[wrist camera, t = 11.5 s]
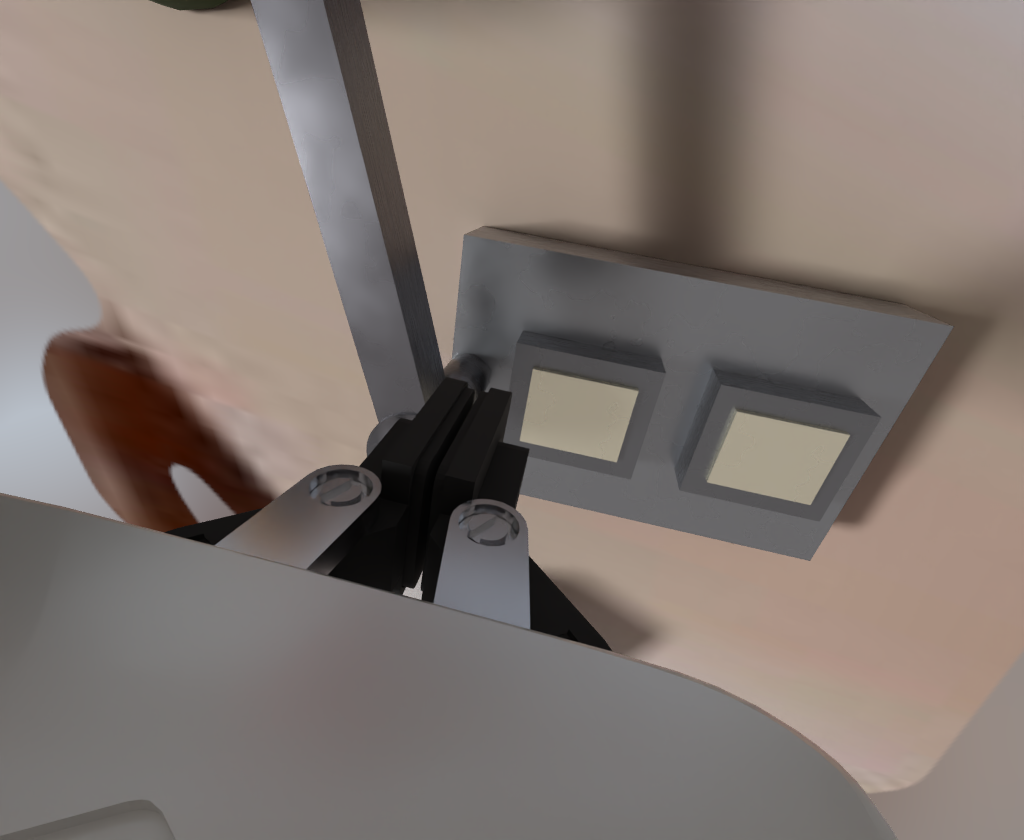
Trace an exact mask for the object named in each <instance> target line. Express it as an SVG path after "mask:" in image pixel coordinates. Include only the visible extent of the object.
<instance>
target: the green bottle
mask: <svg viewBox="0 0 1024 840" xmlns="http://www.w3.org/2000/svg"><path fill="white" fill-rule="evenodd" d="M150 1H153V2H155V3H158V4H161V5H164V6H167V7H170V8H174V9H177V10H193V9H207V8H214V7H216V6H218V5H220V4H222V3H224V2H226V1H228V0H150Z"/></svg>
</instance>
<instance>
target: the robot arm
mask: <svg viewBox="0 0 1024 840" xmlns="http://www.w3.org/2000/svg"><path fill="white" fill-rule="evenodd" d="M474 397H475V389H471V388H468V382H466V381H462V380H457V379H453V378H449V377H446V378H445V379H444V380H443V381H442V383H441V384H440V385H439V386H438V388H437V389H436V390H435V392H434V393H433V394H432V396H431V397H430V398H429V399H428V401H427V402H426V403H425V405H424V406H423V407H422V409H421V410H420V411H419V412H418V414H417V415H416V416H415V418H414V419H413V420H408V419H404V418H400V419H399V420H398V421H397V422H396V423H395V424H394V425H393V426H392V428H391V429H390V430H389V431H388V433H387V434H386V435H385V436H384V437H383V439H382V440H381V441H380V442H379V443H378V445H377V446H376V447H375V448H374V449H373V451H372V452H371V453H370V454H369V455H368V457H367V458H366V459H365V460H364V461H363V463H362V464H361V465H360V466H359V467H358V466H354V465H332V466H327V467H324V468H320V469H317V470H316V471H314V472H312V473H310V474H309V475H307V476H306V477H304V478H303V479H302V480H300V481H299V482H298V483H297V484H295V485H294V486H293V487H291V488H290V489H289V490H287V491H286V492H285V493H283V494H282V495H281V496H279V497H278V498H277V499H275V500H274V501H273V502H271V503H270V504H269V505H267V506H266V507H265V508H262V509H257V510H253V511H249V512H245V513H240V514H236V515H232V516H228V517H223V518H220V519H215V520H211V521H206V522H202V523H198V524H194V525H189V526H185V527H181V528H177V529H174V530H171V531H167V532H164V533H163V532H159V531H155V530H151V529H148V528H144V527H140V526H136V525H132V524H128V523H124V522H120V521H116V520H113V519H109V518H105V517H101V516H97V515H93V514H89V513H85V512H82V511H77V510H74V509H70V508H66V507H62V506H57V505H52V504H48V503H43V502H39V501H35V500H30V499H25V498H21V497H17V496H12V495H8V494H3V493H0V840H898V839H897V837H896V835H895V834H894V832H893V831H892V829H891V827H890V826H889V824H888V823H887V821H886V820H885V818H884V817H883V815H882V814H881V812H880V811H879V809H878V808H877V807H876V805H875V804H874V802H873V801H872V800H871V799H870V798H869V796H868V795H867V794H866V792H865V791H864V790H863V789H862V787H861V786H860V785H859V784H858V782H857V781H856V780H855V779H854V778H853V777H852V776H851V775H850V774H849V773H848V772H847V771H846V770H845V769H844V768H843V767H842V766H841V765H840V764H839V763H838V762H837V761H836V760H835V759H833V758H832V757H831V756H830V755H828V754H827V753H826V752H825V751H824V750H822V749H821V748H820V747H819V746H817V745H816V744H815V743H813V742H812V741H811V740H809V739H808V738H806V737H805V736H804V735H802V734H801V733H800V732H798V731H797V730H795V729H794V728H792V727H790V726H789V725H787V724H785V723H784V722H782V721H781V720H779V719H777V718H776V717H774V716H772V715H771V714H769V713H768V712H766V711H764V710H763V709H761V708H759V707H758V706H756V705H754V704H752V703H750V702H748V701H746V700H744V699H742V698H740V697H737V696H735V695H733V694H731V693H729V692H727V691H725V690H723V689H721V688H719V687H717V686H714V685H712V684H709V683H706V682H704V681H701V680H699V679H696V678H693V677H691V676H688V675H685V674H683V673H680V672H677V671H674V670H671V669H667V668H664V667H661V666H657V665H654V664H651V663H648V662H644V661H641V660H638V659H634V658H631V657H628V656H625V655H621V654H618V653H615V652H613V651H612V650H611V649H610V647H609V646H608V644H607V643H606V641H605V640H604V639H603V638H602V637H601V636H600V634H599V633H598V632H597V631H596V630H595V629H594V628H593V627H592V626H591V624H590V623H589V622H588V621H587V620H586V619H585V618H584V617H583V616H582V614H581V613H580V612H579V611H578V610H577V609H576V608H575V607H574V605H573V604H572V603H571V602H570V601H569V600H568V599H567V598H566V597H565V595H564V594H563V593H562V592H561V591H560V590H559V589H558V588H557V587H556V585H555V584H554V583H553V582H552V581H551V580H550V579H549V578H548V576H547V575H546V574H545V573H544V572H543V571H542V570H541V569H540V568H539V566H538V565H537V564H536V563H535V562H534V561H533V560H532V559H531V558H530V556H529V551H528V528H527V524H526V521H525V519H524V518H523V516H522V515H521V514H520V513H519V512H518V511H517V510H516V505H517V501H518V497H519V493H520V489H521V485H522V481H523V476H524V472H525V468H526V463H527V459H528V455H529V450H530V449H529V448H525V447H520V446H516V445H512V444H508V443H504V442H503V439H504V434H505V429H506V424H507V419H508V414H509V409H510V404H511V399H512V392H509V391H504V390H500V389H496V388H492V387H491V388H490V389H489V391H488V392H483V391H481V392H480V393H479V395H478V397H477V399H476V401H475V403H474ZM422 571H423V574H422V582H421V591H423V593H422V600H419V599H416V598H412V597H408V596H404V595H402V594H403V592H404V590H405V588H406V587H409V588H415V586H416V584H417V582H418V580H419V577H420V575H421V573H422Z"/></svg>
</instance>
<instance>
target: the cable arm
mask: <svg viewBox="0 0 1024 840" xmlns="http://www.w3.org/2000/svg"><path fill="white" fill-rule="evenodd" d="M251 3H252V7H253V10H254V13H255V16H256V20H257V23H258V26H259V30H260V33H261V36H262V40H263V43H264V46H265V49H266V53H267V56H268V59H269V63H270V66H271V69H272V72H273V76H274V79H275V82H276V86H277V89H278V92H279V95H280V99H281V102H282V105H283V109H284V112H285V115H286V119H287V122H288V125H289V128H290V132H291V135H292V138H293V142H294V145H295V148H296V151H297V155H298V158H299V161H300V165H301V168H302V171H303V175H304V178H305V181H306V184H307V188H308V191H309V194H310V198H311V201H312V204H313V207H314V211H315V214H316V217H317V221H318V224H319V227H320V231H321V234H322V237H323V240H324V244H325V247H326V250H327V254H328V257H329V260H330V263H331V267H332V270H333V273H334V277H335V280H336V283H337V286H338V290H339V293H340V296H341V300H342V303H343V306H344V310H345V313H346V316H347V319H348V323H349V326H350V329H351V333H352V336H353V339H354V342H355V346H356V349H357V352H358V356H359V359H360V362H361V366H362V369H363V372H364V375H365V379H366V382H367V385H368V389H369V392H370V395H371V398H372V402H373V405H374V408H375V412H376V415H377V418H378V421H379V424H378V425H377V426H376V427H375V428H374V429H373V431H372V432H371V434H370V436H369V438H368V441H367V457H368V455H369V454H370V453H371V452H372V451H373V449H374V448H375V447H376V446H377V445H378V443H379V442H380V441H381V440H382V439H383V437H384V436H385V435H386V434H387V433H388V431H389V430H390V429H391V428H392V426H393V425H394V424H395V423H396V422H397V421H398V420H399V419H400V418H404V419H408V420H413V419H414V418H415V416H416V415H417V414H418V412H419V411H420V410H421V409H422V407H423V406H424V405H425V403H426V402H427V401H428V399H429V398H430V397H431V396H432V394H433V393H434V392H435V390H436V389H437V388H438V386H439V385H440V384H441V383H442V381H443V380H444V379H445V374H444V370H443V366H442V361H441V357H440V352H439V348H438V343H437V339H436V335H435V330H434V326H433V321H432V317H431V313H430V308H429V304H428V299H427V295H426V290H425V286H424V282H423V277H422V273H421V268H420V264H419V259H418V255H417V251H416V246H415V242H414V237H413V233H412V229H411V224H410V220H409V215H408V211H407V206H406V202H405V198H404V193H403V189H402V184H401V180H400V175H399V171H398V167H397V162H396V158H395V153H394V149H393V145H392V140H391V136H390V131H389V127H388V122H387V118H386V114H385V109H384V105H383V100H382V96H381V91H380V87H379V83H378V78H377V74H376V69H375V65H374V61H373V56H372V52H371V47H370V43H369V38H368V34H367V30H366V25H365V21H364V16H363V12H362V7H361V3H360V0H251Z"/></svg>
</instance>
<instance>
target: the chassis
mask: <svg viewBox="0 0 1024 840" xmlns="http://www.w3.org/2000/svg"><path fill="white" fill-rule="evenodd" d="M953 327H954V326H952V325H949V324H947V323H945V322H942V321H940V320H938V319H936V318H933V317H931V316H929V315H927V314H924V313H922V312H920V311H918V310H915V309H913V308H911V307H909V306H906V305H904V304H899V303H894V302H889V301H883V300H878V299H872V298H867V297H862V296H856V295H851V294H845V293H840V292H835V291H829V290H824V289H819V288H813V287H808V286H802V285H797V284H792V283H786V282H781V281H775V280H770V279H765V278H759V277H754V276H748V275H743V274H738V273H732V272H727V271H721V270H716V269H711V268H705V267H700V266H695V265H689V264H684V263H678V262H673V261H668V260H662V259H657V258H651V257H646V256H641V255H635V254H630V253H624V252H619V251H614V250H608V249H603V248H598V247H592V246H587V245H581V244H576V243H571V242H565V241H560V240H554V239H549V238H544V237H538V236H533V235H527V234H522V233H517V232H511V231H506V230H501V229H495V228H490V227H484V226H482V227H480V228H478V229H476V230H473V231H471V232H469V233H467V234H464V240H463V250H462V261H461V271H460V281H459V292H458V302H457V312H456V323H455V333H454V343H453V353H452V360H451V361H450V362H449V364H448V365H447V366H446V367H445V368H444V374H445V378H446V377H449V378H453V379H457V380H462V381H466V382H468V388H471V389H475V397H474V403H475V401H476V399H477V397H478V395H479V393H480V392H481V391H483V392H488V391H489V389H490V388H491V387H492V388H496V389H500V390H504V391H509V392H512V399H511V404H510V409H509V414H508V419H507V424H506V429H505V434H504V439H503V442H504V443H508V444H512V445H516V446H520V447H525V448H529V449H530V450H529V455H528V459H527V463H526V468H525V472H524V476H523V481H522V485H521V489H520V493H519V494H522V495H526V496H530V497H535V498H539V499H543V500H548V501H552V502H556V503H561V504H565V505H570V506H574V507H578V508H583V509H587V510H591V511H596V512H600V513H604V514H609V515H613V516H617V517H622V518H626V519H630V520H635V521H639V522H643V523H648V524H652V525H656V526H661V527H665V528H669V529H674V530H678V531H682V532H687V533H691V534H695V535H700V536H704V537H709V538H713V539H717V540H722V541H726V542H730V543H735V544H739V545H743V546H748V547H752V548H756V549H761V550H765V551H769V552H774V553H778V554H782V555H787V556H791V557H795V558H800V559H804V560H808V561H810V560H811V558H812V557H813V555H814V553H815V552H816V550H817V549H818V547H819V545H820V544H821V542H822V540H823V539H824V537H825V536H826V534H827V532H828V531H829V529H830V527H831V526H832V524H833V523H834V521H835V519H836V518H837V516H838V514H839V513H840V511H841V510H842V508H843V506H844V505H845V503H846V501H847V500H848V498H849V496H850V495H851V493H852V492H853V490H854V488H855V487H856V485H857V483H858V482H859V480H860V479H861V477H862V475H863V474H864V472H865V470H866V469H867V467H868V466H869V464H870V462H871V461H872V459H873V457H874V456H875V454H876V453H877V451H878V449H879V448H880V446H881V444H882V443H883V441H884V439H885V438H886V436H887V435H888V433H889V431H890V430H891V428H892V426H893V425H894V423H895V422H896V420H897V418H898V417H899V415H900V413H901V412H902V410H903V409H904V407H905V405H906V404H907V402H908V400H909V399H910V397H911V396H912V394H913V392H914V391H915V389H916V387H917V386H918V384H919V382H920V381H921V379H922V378H923V376H924V374H925V373H926V371H927V369H928V368H929V366H930V365H931V363H932V361H933V360H934V358H935V356H936V355H937V353H938V352H939V350H940V348H941V347H942V345H943V343H944V342H945V340H946V339H947V337H948V335H949V334H950V332H951V330H952V329H953Z"/></svg>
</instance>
